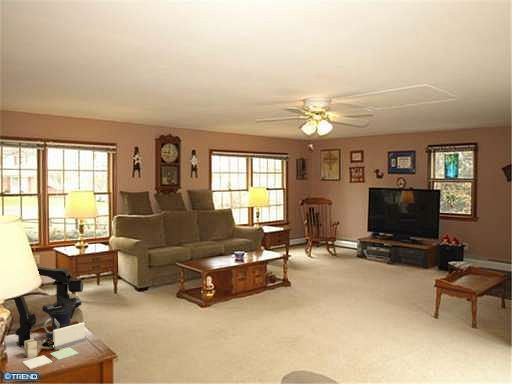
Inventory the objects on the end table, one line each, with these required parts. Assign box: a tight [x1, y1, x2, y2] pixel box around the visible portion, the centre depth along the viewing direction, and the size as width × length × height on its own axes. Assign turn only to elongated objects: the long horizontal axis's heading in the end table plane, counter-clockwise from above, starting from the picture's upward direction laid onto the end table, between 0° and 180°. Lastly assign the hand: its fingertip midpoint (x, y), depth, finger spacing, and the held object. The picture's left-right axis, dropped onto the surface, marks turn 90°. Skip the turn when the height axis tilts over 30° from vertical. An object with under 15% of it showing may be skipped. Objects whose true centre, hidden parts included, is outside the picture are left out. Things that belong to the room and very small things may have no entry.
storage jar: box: [51, 302, 71, 331], centre depth 243 cm, size 10×10×15 cm
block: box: [23, 338, 38, 359], centre depth 210 cm, size 5×4×7 cm
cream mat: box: [21, 354, 53, 370], centre depth 202 cm, size 10×10×1 cm
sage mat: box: [49, 346, 79, 361], centre depth 211 cm, size 10×10×1 cm
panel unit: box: [53, 321, 87, 351], centre depth 226 cm, size 12×16×10 cm
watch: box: [43, 317, 60, 340], centre depth 231 cm, size 6×8×11 cm
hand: (62, 320), depth 226 cm, fingers open, 9 cm apart
